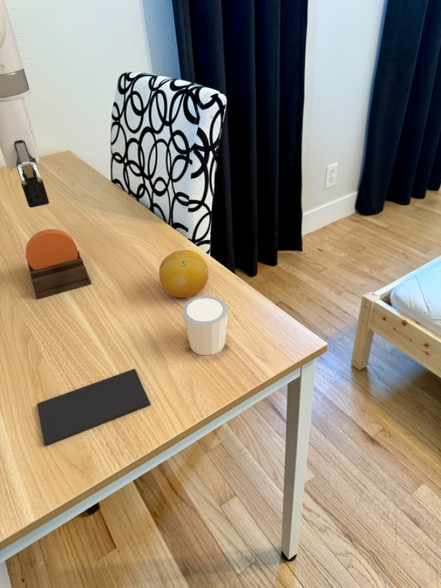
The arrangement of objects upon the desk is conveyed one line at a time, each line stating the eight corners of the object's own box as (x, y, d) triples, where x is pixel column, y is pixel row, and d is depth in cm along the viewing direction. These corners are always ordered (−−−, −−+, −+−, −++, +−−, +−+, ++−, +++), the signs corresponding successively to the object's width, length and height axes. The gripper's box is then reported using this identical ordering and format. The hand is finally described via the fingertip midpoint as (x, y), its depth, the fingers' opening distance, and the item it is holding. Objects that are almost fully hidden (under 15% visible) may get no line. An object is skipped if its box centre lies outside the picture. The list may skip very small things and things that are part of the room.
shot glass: (177, 349, 67) (173, 316, 63) (199, 323, 72) (196, 290, 68) (216, 364, 65) (214, 330, 60) (236, 335, 69) (235, 302, 65)
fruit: (167, 310, 75) (162, 272, 70) (157, 284, 81) (151, 248, 76) (215, 298, 77) (213, 261, 72) (201, 274, 83) (199, 238, 78)
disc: (34, 280, 81) (19, 239, 76) (33, 276, 82) (18, 235, 77) (82, 268, 84) (71, 227, 78) (80, 264, 85) (69, 223, 80)
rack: (36, 299, 78) (31, 284, 76) (29, 269, 86) (24, 254, 84) (91, 284, 81) (87, 269, 79) (79, 256, 89) (75, 241, 87)
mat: (45, 446, 54) (44, 443, 54) (37, 406, 59) (36, 403, 59) (150, 405, 59) (150, 402, 59) (135, 371, 64) (134, 368, 64)
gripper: (-29, 76, 67) (8, 179, 78) (-26, 102, 55) (17, 220, 66) (21, 71, 70) (50, 171, 81) (34, 94, 58) (67, 209, 68)
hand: (35, 193), depth 73 cm, fingers open, 9 cm apart
